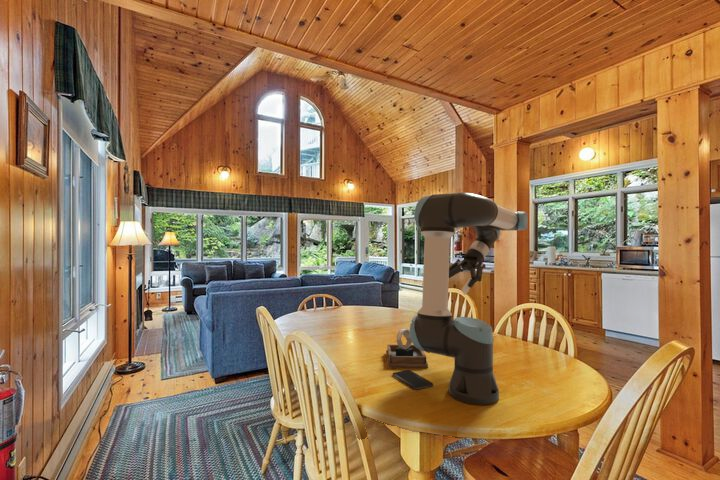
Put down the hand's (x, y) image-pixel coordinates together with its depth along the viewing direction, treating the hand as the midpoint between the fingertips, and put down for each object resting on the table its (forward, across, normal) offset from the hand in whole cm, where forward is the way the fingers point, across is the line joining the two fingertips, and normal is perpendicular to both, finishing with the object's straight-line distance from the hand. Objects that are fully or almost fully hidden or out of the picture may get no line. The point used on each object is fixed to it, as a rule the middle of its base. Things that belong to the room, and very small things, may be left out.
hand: (451, 290), depth 149 cm
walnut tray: (+33, +6, -6) cm, 34 cm away
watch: (+32, +7, -5) cm, 33 cm away
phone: (+41, -11, +1) cm, 42 cm away
